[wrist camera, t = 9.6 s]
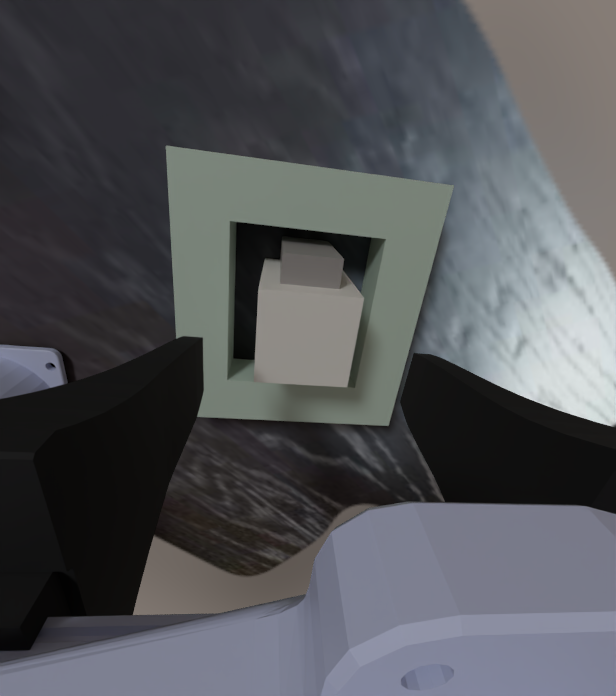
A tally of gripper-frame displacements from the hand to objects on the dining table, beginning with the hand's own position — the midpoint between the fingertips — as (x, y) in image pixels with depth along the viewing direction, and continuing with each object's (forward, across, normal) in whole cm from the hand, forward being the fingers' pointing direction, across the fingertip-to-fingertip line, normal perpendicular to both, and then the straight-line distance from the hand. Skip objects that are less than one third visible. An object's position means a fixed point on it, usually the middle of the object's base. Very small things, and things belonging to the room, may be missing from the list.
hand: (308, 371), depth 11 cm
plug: (+8, 0, 0) cm, 8 cm away
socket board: (+8, 0, 0) cm, 8 cm away
